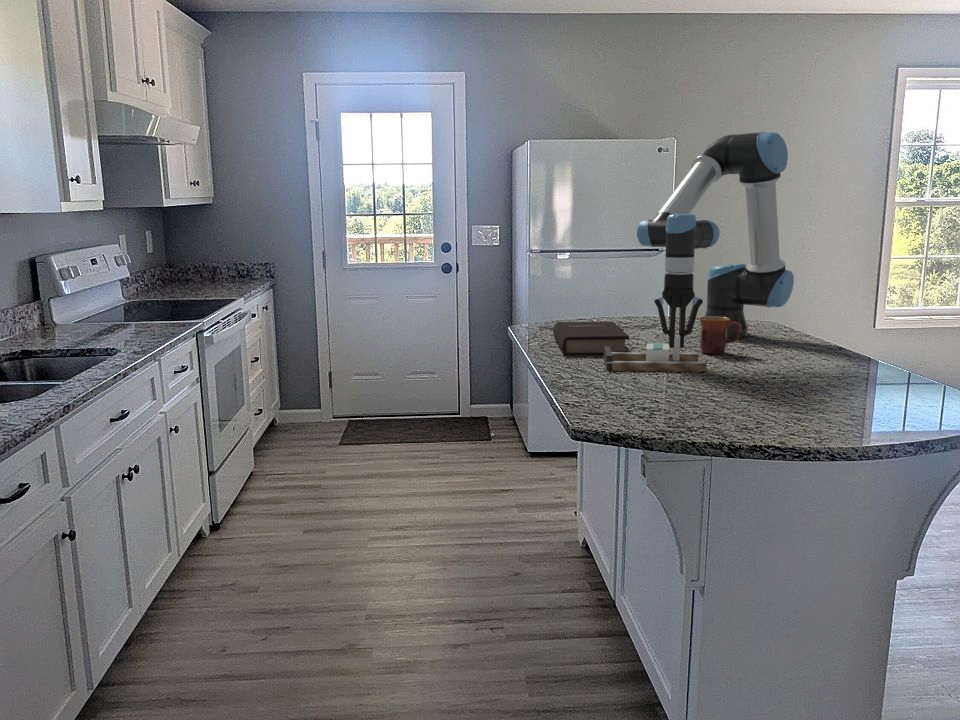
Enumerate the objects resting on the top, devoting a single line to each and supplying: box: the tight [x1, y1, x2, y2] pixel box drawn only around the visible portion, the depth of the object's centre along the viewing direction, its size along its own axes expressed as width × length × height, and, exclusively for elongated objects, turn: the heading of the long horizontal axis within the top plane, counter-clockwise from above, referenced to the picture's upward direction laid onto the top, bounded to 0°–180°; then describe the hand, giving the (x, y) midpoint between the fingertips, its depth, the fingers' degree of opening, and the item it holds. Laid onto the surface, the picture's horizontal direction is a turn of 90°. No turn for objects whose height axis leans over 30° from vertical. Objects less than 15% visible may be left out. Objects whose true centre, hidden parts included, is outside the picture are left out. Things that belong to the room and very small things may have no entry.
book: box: [552, 320, 630, 356], centre depth 244 cm, size 28×20×6 cm
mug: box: [698, 315, 741, 356], centre depth 230 cm, size 12×9×10 cm
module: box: [645, 342, 670, 361], centre depth 215 cm, size 6×8×6 cm
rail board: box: [603, 346, 708, 372], centre depth 215 cm, size 26×13×4 cm, turn 85°
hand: (675, 359), depth 215 cm, fingers closed
